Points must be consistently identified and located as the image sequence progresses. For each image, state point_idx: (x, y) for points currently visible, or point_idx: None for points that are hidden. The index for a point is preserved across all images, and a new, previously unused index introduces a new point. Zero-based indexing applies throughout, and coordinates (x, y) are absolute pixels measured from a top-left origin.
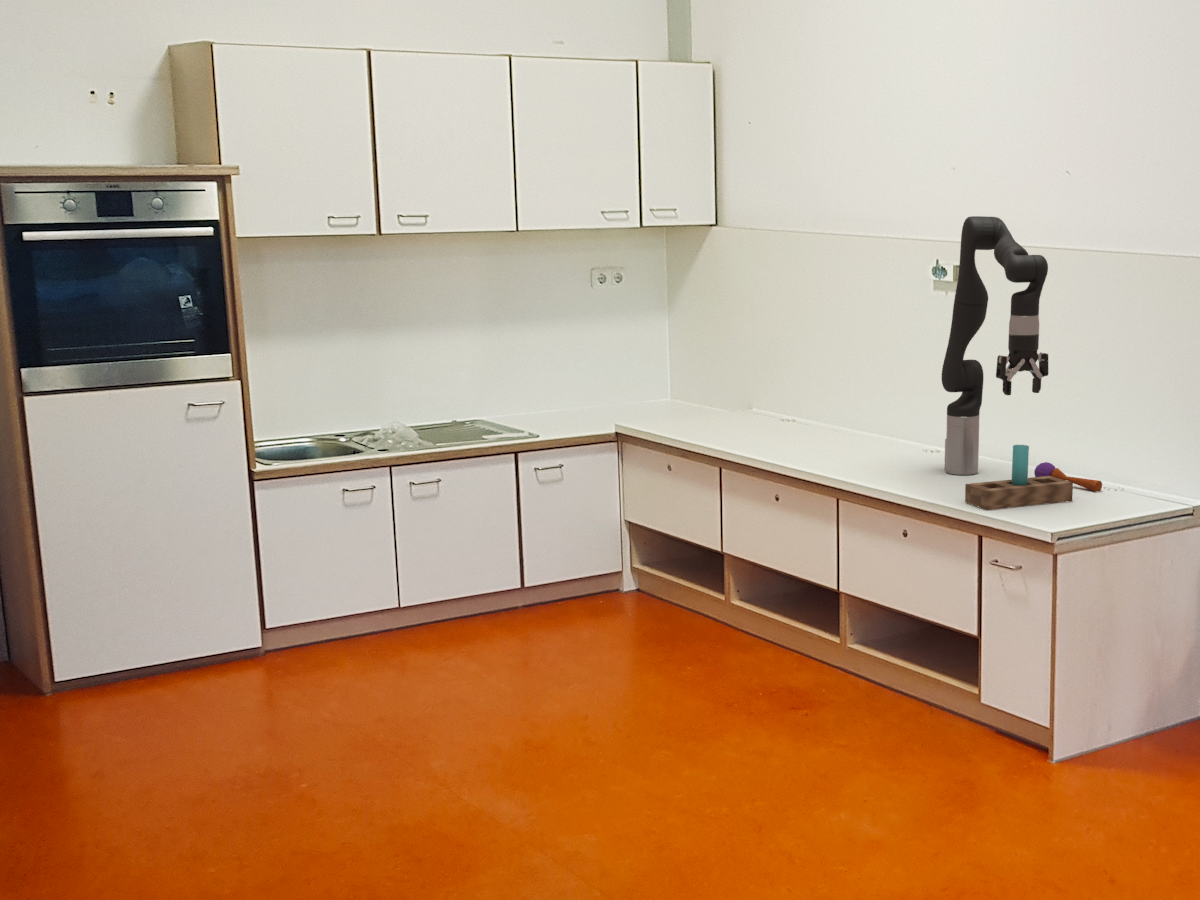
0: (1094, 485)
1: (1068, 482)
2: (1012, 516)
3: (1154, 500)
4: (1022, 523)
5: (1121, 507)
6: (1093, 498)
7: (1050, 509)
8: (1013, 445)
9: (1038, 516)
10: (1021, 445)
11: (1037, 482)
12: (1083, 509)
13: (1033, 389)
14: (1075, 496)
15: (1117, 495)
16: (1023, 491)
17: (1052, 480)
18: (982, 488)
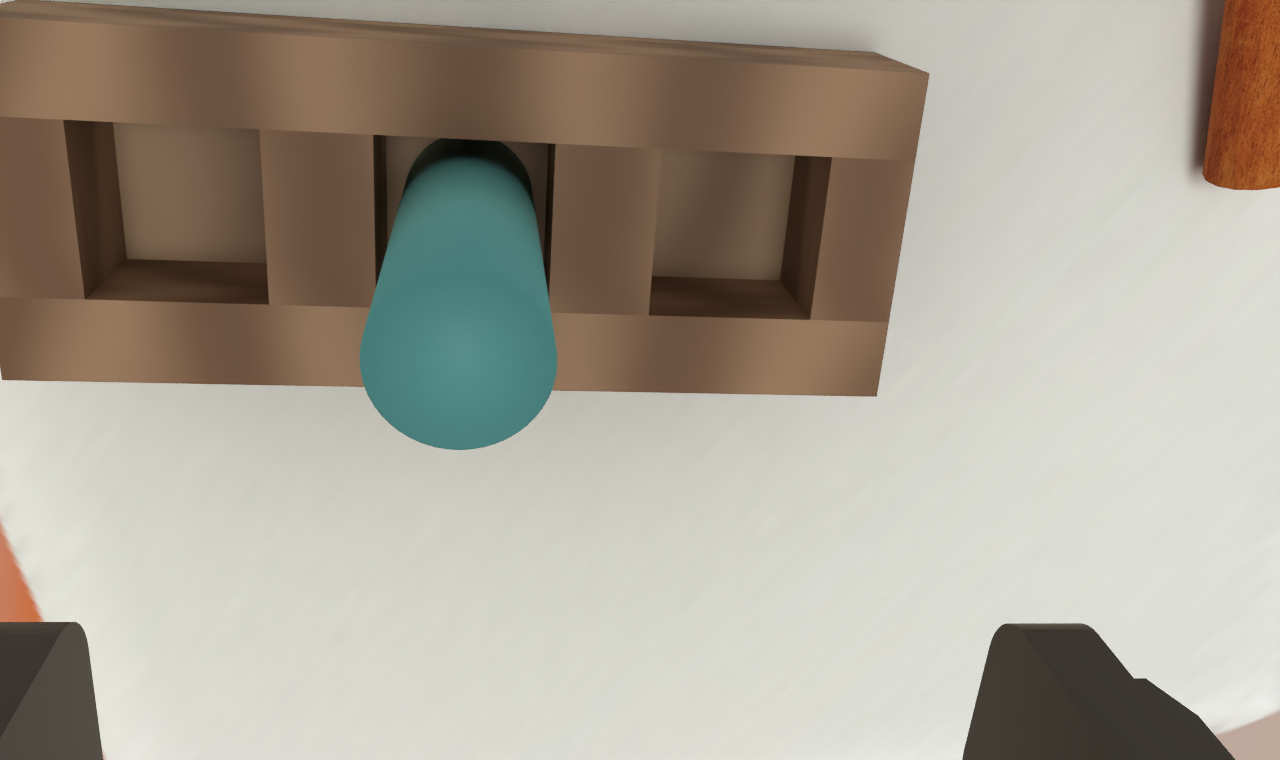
0: (1222, 180)
1: (852, 376)
2: (152, 545)
3: (1273, 530)
4: (112, 713)
5: (958, 600)
6: (1023, 329)
7: (525, 479)
8: (397, 290)
9: (323, 606)
10: (493, 330)
11: (632, 269)
12: (718, 559)
13: (1024, 711)
14: (973, 220)
15: (1227, 322)
16: None
17: (820, 231)
18: (18, 268)
